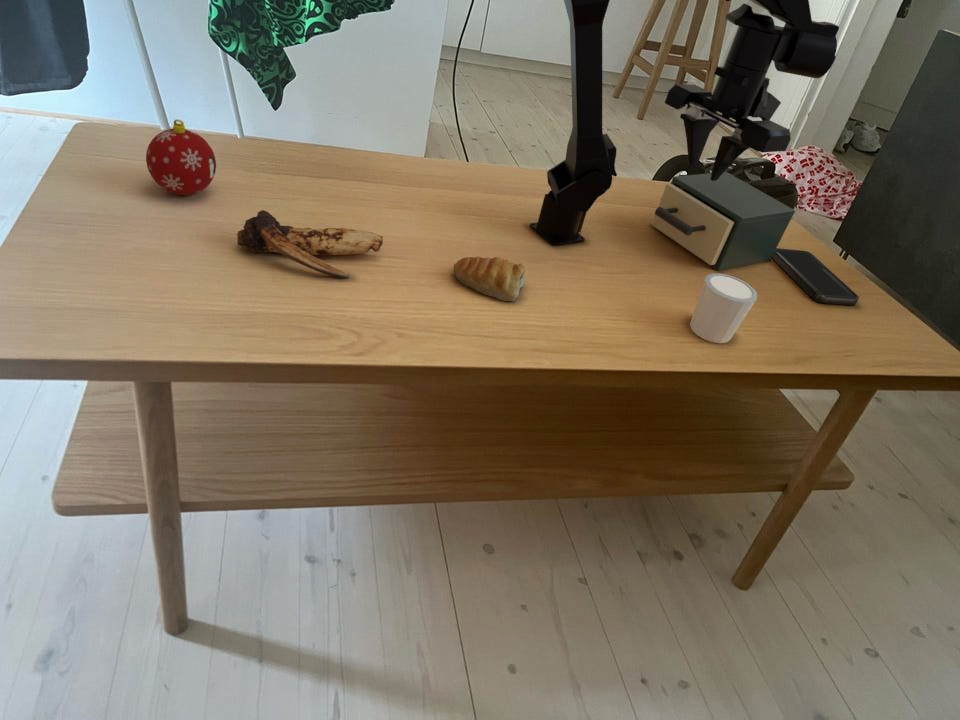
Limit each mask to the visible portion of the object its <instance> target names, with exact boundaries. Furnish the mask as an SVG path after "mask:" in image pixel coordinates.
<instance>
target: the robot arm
mask: <svg viewBox="0 0 960 720" xmlns="http://www.w3.org/2000/svg"><path fill="white" fill-rule="evenodd" d="M610 1H611V0H563V2H564V7H565V10H566V13H567V18H568V22H569V40H570V41H569V43H570V46H569V47H570V48H569V49H570V79H571V80H570V82H571V115H572V117H571V118H572V128H571V131H570V136H569V139H568V141H567V146H566V152H565V158H564V160H562V161H561V162H560V163H558V164H556V165H554V166H553V167H551V168H550V169H549V170H547V171H546V175H547V177H546V179H547V184H548V186H549V188H550V190H549V191H548V193H545V194H544V197H543V201H542V205H541V208H540V211H539V215H538V219H537V221H536V222H530V223H529V229H532V230H533V231H534V232H535V233H536V234H537V235H539V236H540V237H541V238H543V240H545V241H546V242H547V243H548V244H550V245H551V246H554V247H556V246H557V247H558V246H564V245H570V244H577V243H584V242H585V239H586V238H585V237H584V236H583V235H582V234H581V232H582V228H583V225H584V223H585V220H586V215H587V212H589V210H590V209H591V208H592V206H593V205H594V203H595V202H596V201H597V199H598V198H600V197H601V196H603V195H604V194H606V192H607V191H609V190H610V188H611V187H612V183H613V177H617V176H618V173H617V171H616V167H615V164H616V159H617V146H616V145H615V144H614V142H613V141H612V139H611V137H610V136H609V134H608V133H604V132H603V26H604V21H605V18H606V15H607V11H608V8H609V5H610ZM749 1H750V2H752V3H753V4H754V5H756V6H759V7H760V8H762V9H764V10H766V11H767V12H768V14H769V15H768V14H762V13H757V12H754V11H753V7H752V6H751V5H749V4H747V3H744V2H743V3H742V4H741V5H740V6H739V7H738V8H736V9H734V10H732V11H730V12H728V13H726V14H725V20H726V21H728V22H729V23H731V24H732V25H735V26H737V30H736V32H735V35H734V38H733V39H732V42H731V45H730V48H729V51H728V53H727V55H726V58H725V60H724V63H723V65H722V66H716V68H715V70H714V73H713V74H714V75H715V76H718V79H717V81H716V84H715V86H714V89H713V92H712V91H710V90H707V89H706V88H703V87H701V86H698V85H696V84H677V83H675V84H674V85H673V86H671V88H670V89H669V90H668V91H667V94H666V97H665V99H664V104H665V105H667V106H668V107H671V108H673V109H675V110H681V109H683V108H685V107H686V109H685V111H684V113H681V114H680V115H679V118H680V119H682V121H683V126H684V132H685V138H686V149H687V162H688V168H690V169H695V168H696V167H697V165H698V163H699V162H700V159H701V157H702V154H703V151H704V149H705V146H706V144H707V141H708V139H709V136H710V134H711V132H712V131H713V130H714V129H715V127H716V126H717V125H718V124H719V123H722V124H724V125H726V126H727V127H730V128H731V129H734V131H733V132H732V135H722V136H721V139H720V142H719V145H718V148H717V152H716V156H715V159H714V162H713V165H712V169H711V172H710V173H711V180H712V181H716V180H717V179H718V178H719V177H720V176H721V175H722V174H723V173H724V172H727V170H728V169H729V168H730V166H731V165H732V164H733V162H735V161H736V159H738V158H739V156H741V155H742V154H743V153H744V152H746V151H747V150H749V149H752V150H754V151H756V152H758V153H759V152H760V153H776V152H786V151H787V148H788V147H789V144H790V142H791V137H792V136H791V129H790V128H787V127H785V126H783V125H781V124H779V123H776V122H775V121H772V120H771V118H772V117H773V116H774V114H775V113H776V111H777V110H778V108H779V107H780V105H781V104H782V102H781V101H780V100H779V99H778V98H777V97H775V95H774V94H772V93H771V92H769V91H768V88H769V86H770V80H771V79H770V78H769V77H766V76H767V73H768V71H769V68H770V66H771V64H772V62H773V63H774V68H775V69H776V71H777V72H780V73H786V74H790V75H797V76H802V77H806V78H811V79H820V78H822V77H824V76H825V75H826V74H827V73H828V72H829V71H830V69H831V68H832V66H833V65H834V63H835V60H836V59H837V58H836V57H837V55H836V53H837V49H838V40H837V34H838V32H839V30H840V26H839V25H837V24H835V23H832V22H828V21H815V20H812V13H811V6H810V1H809V0H749ZM774 18H775V19H777V20H779V21H781V22H783V23H784V25H783V26H779V25H775V21H774ZM686 105H687V106H686ZM749 117H751V118H753V119H754V118H757V119H758V118H759V119H761V120H752V119H749Z"/></svg>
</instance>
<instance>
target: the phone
mask: <svg viewBox="0 0 960 720" xmlns="http://www.w3.org/2000/svg"><path fill="white" fill-rule="evenodd" d="M771 259H772V260H774V262H775V263H777V265H779V267H781V269H782V270H783V271H784V272H786V274H788V275H789V276H790V277H791V279H793V281H794V282H795V283H797V285H798V286H800V287H801V289H802V290H803V291H804V292H805V293H806V294H807V295H808V296H809V297H811V298H812V300H814V301H815V302H817V303H820V304H829V305H843V306H844V305H845V306H855V305H857V303H858V301H859V300H860V296H859V295H858V294H857V293H856V292H855V291H854V290H852V289H851V288H850V287H849V286H848V285H847V284H846V283H845V282H844V281H842V279H841V278H840V277H838V276H837V275H836V274H835V273H834V272H833V271H831V270H830V268H829V267H827V266H826V265H825V264H824V262H822V261H821V260H819V258H818V257H816V256H815V255H814V254H813V253H812V252H810V251H806V250H800V249H790V248H781V247H779V248H778V247H777V248H776V250H775V252H774V254H773V256H772V258H771Z"/></svg>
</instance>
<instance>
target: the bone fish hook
mask: <svg viewBox="0 0 960 720" xmlns="http://www.w3.org/2000/svg"><path fill="white" fill-rule="evenodd" d="M236 237H237V238H236V239H237V245H238V246H240V247H243V248H245V249H248V250H251V251H252V252H254V253H255V254H257V253H271V252H273V253H276V254H281V255H282V256H285V257H286V258H288V259H289V260H291V261H293V262H295V263H297V264H299V265H302V266H303V267H306V268H308V269H310V270H313V271H315V272H318V273H321V274H323V275H326V276H329V277H332V278H337V279H338V278H339V279H348V278H350V274H349V273H346V272H344V271H342V270H340V269H338V268H336V267H335V266H332V265H331V264H329V263H327V262H325V261H323V260H321V259H320V258H317V257H316V256H343V255H353V254H354V255H356V254H368V253H369V252H370V250H372V251H373V252H376V253H377V252H379V251H380V250H381V247H382V245H383V243H384V241H383V240H384V239H383V238H384V237H383V236H382V235H380V234H379V233H375V232H372V231H368V230H362V229H361V230H360V229H352V228H342V227H340V228H336V227H328V228H327V227H326V228H311V227H293V226H292V225H282V224H281V223H280V222H279V220H277V219H276V217H274V216H273V215H272V214H271V213H270V212H269V211H267V210H264V209H262V210H259V211H258V212H257V214H256V216H252V217H250V218H249V219H246V220H245V222H244V225H243V229H240V230H238V231H237V233H236ZM315 255H316V256H315Z"/></svg>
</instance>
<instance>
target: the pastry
mask: <svg viewBox="0 0 960 720" xmlns="http://www.w3.org/2000/svg"><path fill="white" fill-rule="evenodd" d="M452 268H453V274H454V276H455V278H456V279H457V280H458V281H459V282H460V283H461V284H464V286H466V287H470V289H472V290H473V291H476V292H478V293H481V294H482V295H485V296H488V297H494V298H496V300H497V299H498V300H500V301H504V302H514V301H515V300H516V299H518V297H519V293H520V289H521V288H522V287H523V286H524V283H525V279H526V278H525V274H526V273H525V272H526V267H525V265H524V264H523V263H518V264H517V263H515V262H513V261H510V260H508V259H504V258H502V257H500V256H494V257H492V258H491V257H488V256H487V257H481V256H470V257H462V258H461V259H459V260H457V262H456V263H455V262H454V264H453V266H452Z"/></svg>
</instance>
